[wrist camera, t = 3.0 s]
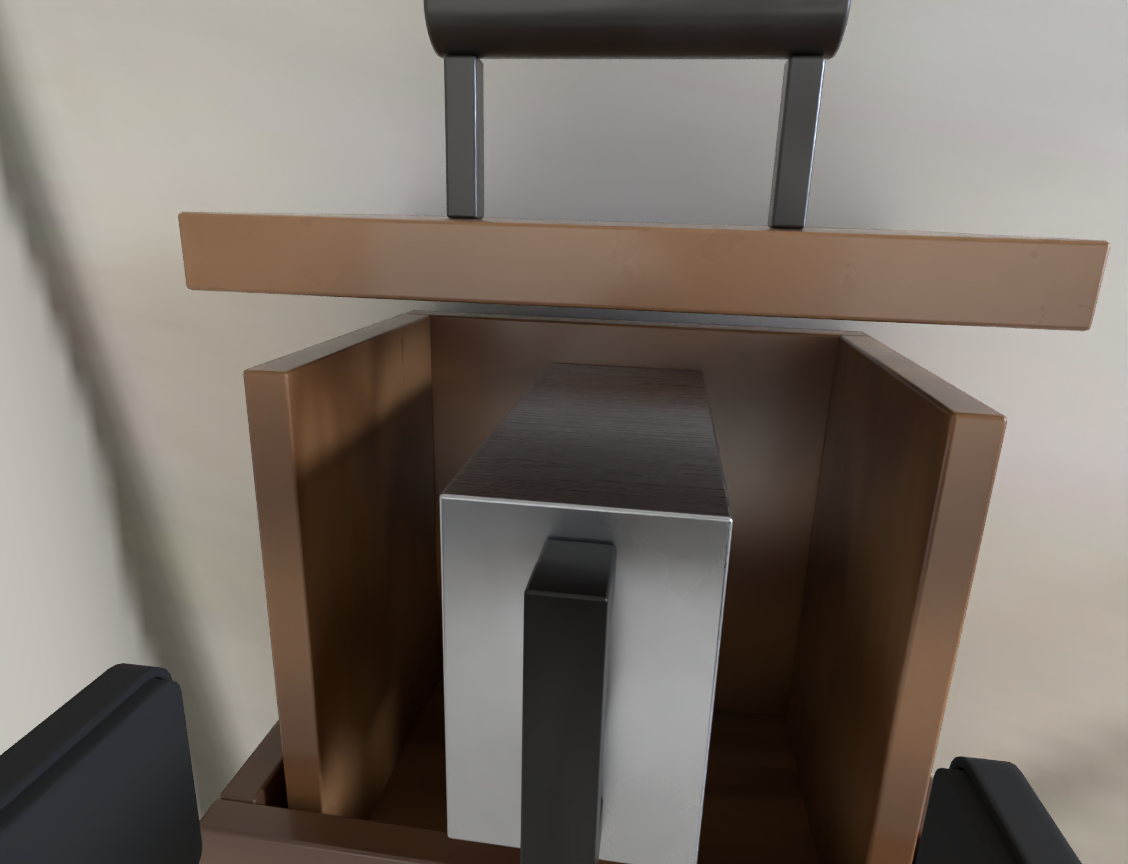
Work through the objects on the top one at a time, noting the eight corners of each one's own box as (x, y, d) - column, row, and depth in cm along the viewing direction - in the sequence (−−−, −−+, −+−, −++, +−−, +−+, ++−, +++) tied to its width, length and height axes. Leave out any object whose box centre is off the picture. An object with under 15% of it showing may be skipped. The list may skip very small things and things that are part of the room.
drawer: (380, 33, 18) (134, -124, 10) (937, 31, 16) (1210, -159, 8) (406, 673, 24) (262, 921, 15) (827, 721, 22) (923, 1030, 14)
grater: (549, 362, 19) (398, 540, 8) (703, 371, 18) (745, 572, 8) (544, 568, 21) (414, 925, 10) (685, 581, 20) (700, 972, 10)
